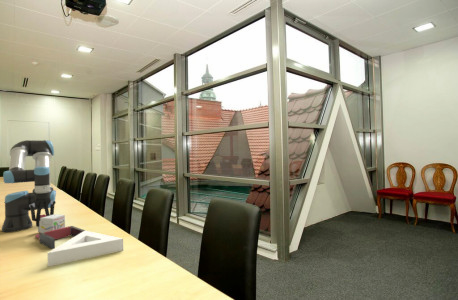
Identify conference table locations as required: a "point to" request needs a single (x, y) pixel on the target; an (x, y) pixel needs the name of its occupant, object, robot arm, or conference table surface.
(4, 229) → the robot arm
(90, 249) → the triangle block
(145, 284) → the conference table surface
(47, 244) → the lane rails
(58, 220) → the ink box
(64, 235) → the pull frame
